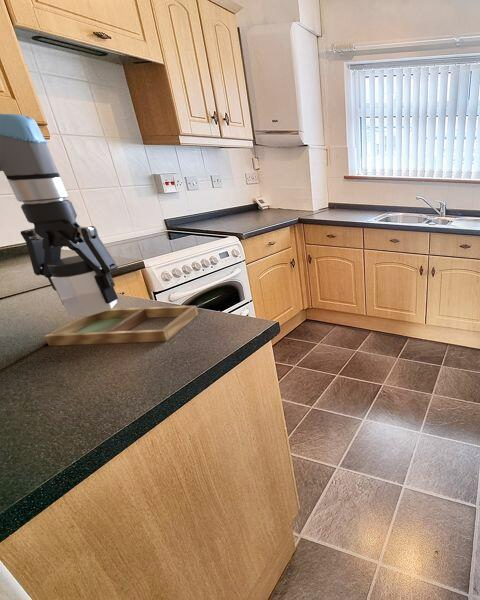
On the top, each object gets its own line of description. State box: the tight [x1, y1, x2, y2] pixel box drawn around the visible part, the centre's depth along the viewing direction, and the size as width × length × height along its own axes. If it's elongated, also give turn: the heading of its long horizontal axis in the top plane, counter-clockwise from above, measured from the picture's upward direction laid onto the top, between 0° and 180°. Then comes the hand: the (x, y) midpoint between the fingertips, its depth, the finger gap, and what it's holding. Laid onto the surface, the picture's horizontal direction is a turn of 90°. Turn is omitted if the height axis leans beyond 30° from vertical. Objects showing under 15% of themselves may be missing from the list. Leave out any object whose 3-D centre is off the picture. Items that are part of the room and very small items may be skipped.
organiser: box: [43, 305, 199, 347], centre depth 80 cm, size 26×14×2 cm, turn 91°
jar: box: [47, 255, 118, 317], centre depth 76 cm, size 9×8×12 cm
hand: (91, 301), depth 77 cm, fingers closed on jar, 9 cm apart
